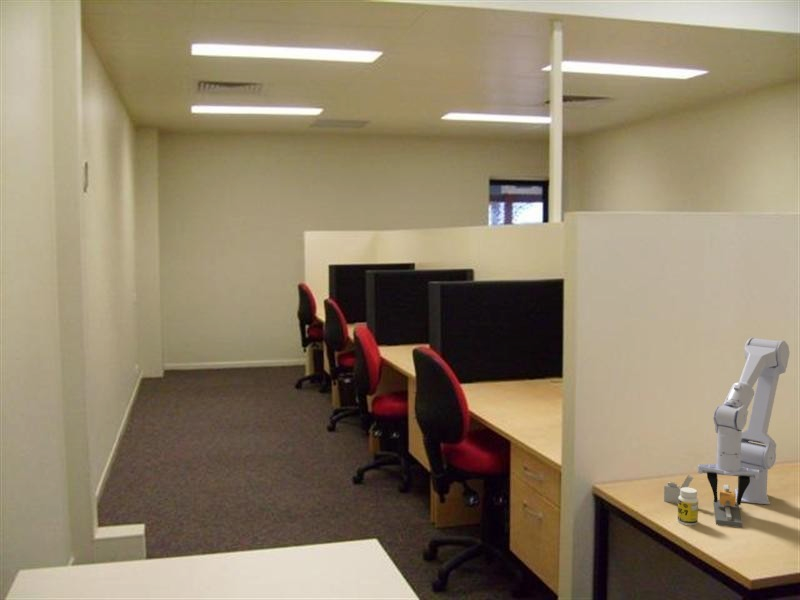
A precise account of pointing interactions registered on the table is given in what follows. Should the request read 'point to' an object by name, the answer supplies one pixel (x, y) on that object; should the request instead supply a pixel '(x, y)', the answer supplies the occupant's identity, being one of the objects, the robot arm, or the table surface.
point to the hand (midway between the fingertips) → (727, 502)
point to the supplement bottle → (688, 506)
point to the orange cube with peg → (727, 498)
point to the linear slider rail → (727, 513)
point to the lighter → (675, 490)
